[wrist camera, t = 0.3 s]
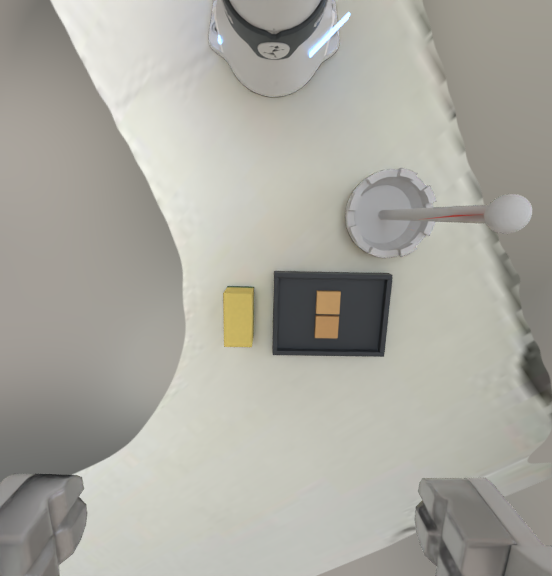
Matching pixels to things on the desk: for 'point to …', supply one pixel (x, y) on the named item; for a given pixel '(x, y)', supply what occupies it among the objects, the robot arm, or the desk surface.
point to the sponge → (238, 316)
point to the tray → (352, 317)
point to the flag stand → (417, 213)
